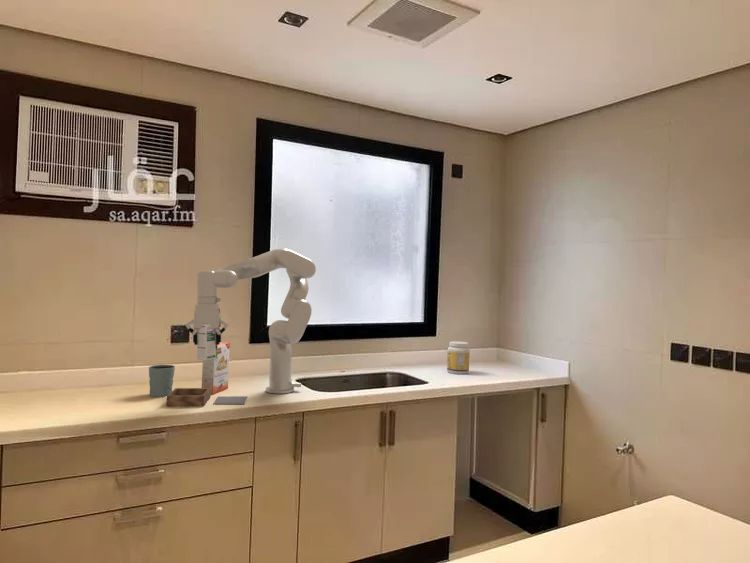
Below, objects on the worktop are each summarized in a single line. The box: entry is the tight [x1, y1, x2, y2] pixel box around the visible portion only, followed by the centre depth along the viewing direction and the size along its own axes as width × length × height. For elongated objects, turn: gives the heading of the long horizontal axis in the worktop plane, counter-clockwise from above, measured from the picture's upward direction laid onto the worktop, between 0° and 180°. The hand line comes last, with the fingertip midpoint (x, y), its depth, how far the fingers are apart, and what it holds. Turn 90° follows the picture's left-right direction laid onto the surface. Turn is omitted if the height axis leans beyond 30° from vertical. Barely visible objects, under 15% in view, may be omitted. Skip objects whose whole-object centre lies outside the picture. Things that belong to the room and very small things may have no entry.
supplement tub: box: [446, 340, 471, 375], centre depth 290 cm, size 12×12×17 cm
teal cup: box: [148, 364, 176, 398], centre depth 219 cm, size 10×10×12 cm
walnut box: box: [166, 387, 212, 407], centre depth 208 cm, size 14×14×4 cm
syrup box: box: [196, 324, 217, 361], centre depth 209 cm, size 6×6×14 cm
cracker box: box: [201, 341, 231, 395], centre depth 228 cm, size 14×6×21 cm, turn 168°
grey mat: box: [212, 395, 248, 406], centre depth 212 cm, size 12×12×1 cm
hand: (207, 344), depth 209 cm, fingers closed on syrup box, 8 cm apart
